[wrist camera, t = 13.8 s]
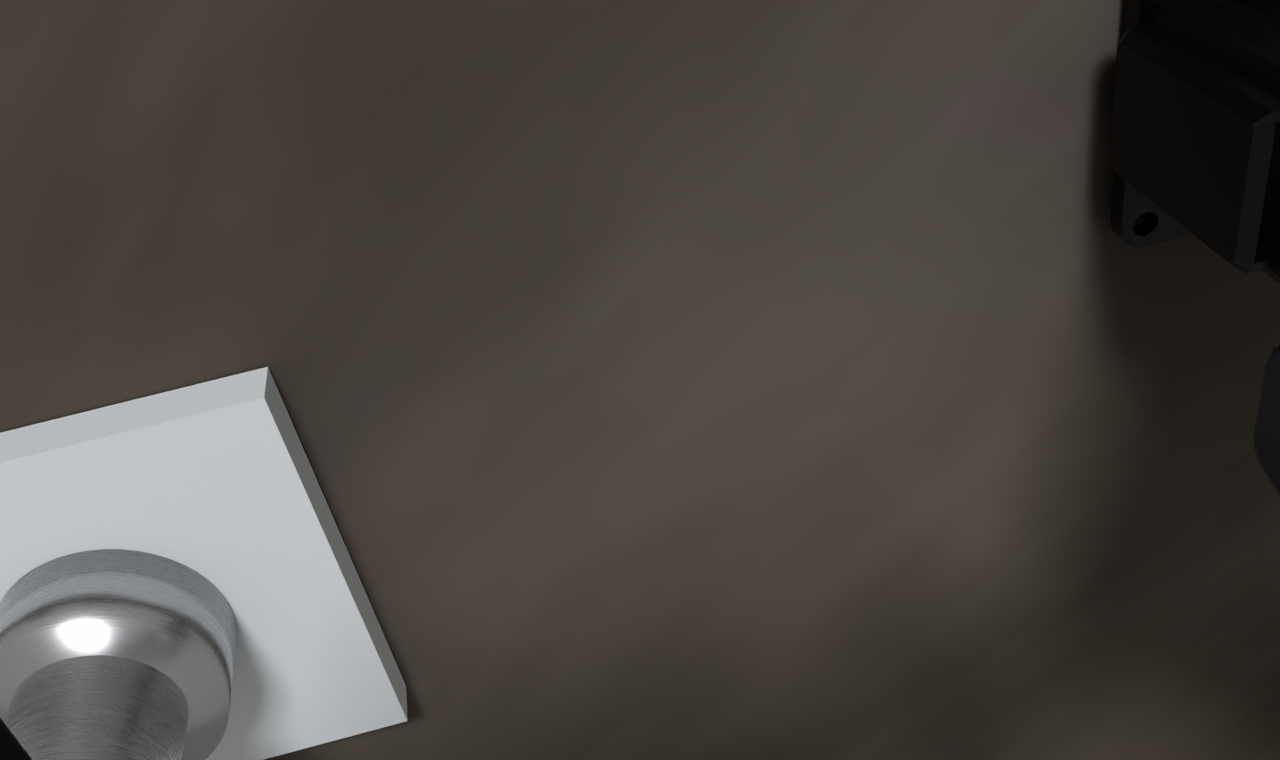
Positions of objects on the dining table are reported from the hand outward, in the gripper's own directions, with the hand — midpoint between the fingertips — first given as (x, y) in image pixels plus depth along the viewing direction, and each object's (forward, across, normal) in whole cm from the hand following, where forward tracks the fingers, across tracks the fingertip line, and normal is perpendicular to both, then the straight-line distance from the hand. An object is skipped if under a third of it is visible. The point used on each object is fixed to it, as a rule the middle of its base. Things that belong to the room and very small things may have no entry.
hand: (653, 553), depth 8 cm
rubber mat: (+13, +10, +10) cm, 19 cm away
